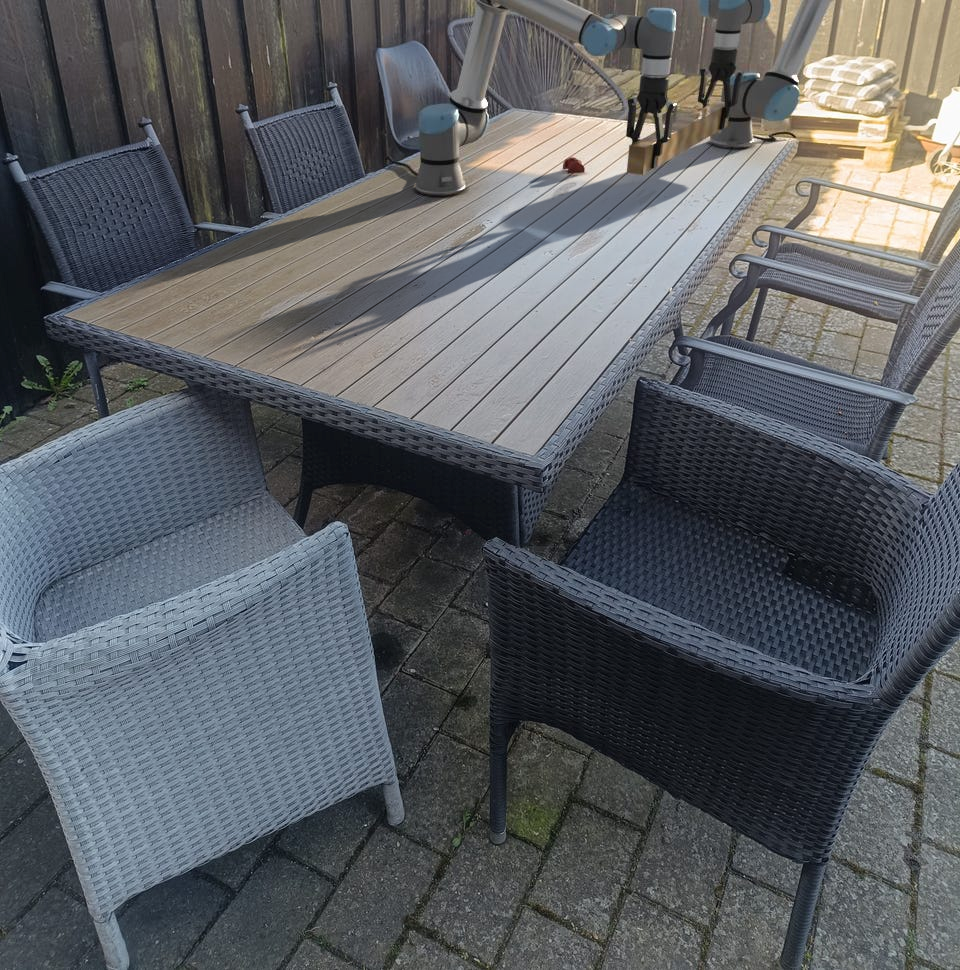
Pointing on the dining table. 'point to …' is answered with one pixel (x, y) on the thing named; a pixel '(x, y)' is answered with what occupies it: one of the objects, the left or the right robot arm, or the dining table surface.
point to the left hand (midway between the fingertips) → (645, 165)
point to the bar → (676, 138)
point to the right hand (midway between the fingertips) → (713, 127)
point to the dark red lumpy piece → (573, 165)
